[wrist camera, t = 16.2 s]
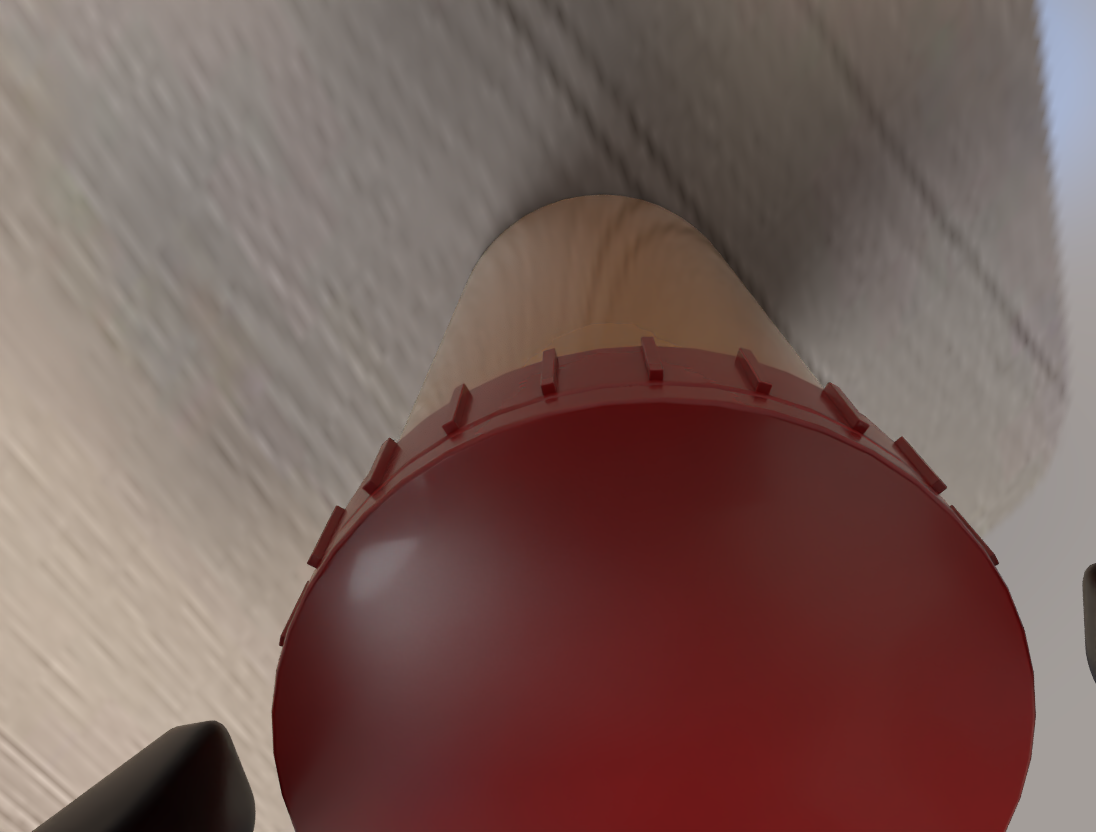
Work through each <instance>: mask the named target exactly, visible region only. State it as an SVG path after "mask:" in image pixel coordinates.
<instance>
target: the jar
mask: <svg viewBox="0 0 1096 832" xmlns="http://www.w3.org/2000/svg"><path fill="white" fill-rule="evenodd" d="M641 337H653V338H654V341H655V344H656V346H663V347H680V348H696V349H701V350H706V351H712V352H717V353H722V354H728V355H733V356H737V353H738V350H739V348H744V349H748V350H751V351H752V353H753V354H754V356H755V358H756V359H757V361H758V362H759V363H761V364H764V365H767V366H770V367H773V368H777V369H780V370H783V371H786V372H788V373H790V374H792V375H794V376H797V377H799V378H801V379H803V380H805V381H807V382H809V383H811V384H813V385H815V386H817V387H819V388H821V389H823V390H824V388H823V387H822V386H821V384H820V383H819V382H818V380H817V379H816V378H815V376H814V375H813V374H812V373H811V371H810V370H809V369H808V367H807V366H806V365H805V363H804V362H803V361H802V360H801V358H800V357H799V356H798V354H797V353H796V352H795V350H794V349H793V348H792V347H791V345H790V344H789V343H788V341H787V340H786V339H785V337H784V336H783V335H782V334H781V332H780V331H779V330H778V328H777V327H776V326H775V324H774V323H773V322H772V321H771V319H770V318H769V317H768V315H767V314H766V313H765V311H764V310H763V309H762V308H761V306H760V305H759V304H758V302H757V301H756V300H755V298H754V297H753V296H752V295H751V293H750V292H749V291H748V289H747V288H746V287H745V285H744V284H743V283H742V282H741V280H740V279H739V278H738V276H737V275H736V274H735V272H734V271H733V270H732V269H731V267H730V266H729V265H728V263H727V262H726V261H725V259H724V258H723V257H722V256H721V254H720V253H719V252H718V251H717V249H716V248H715V247H714V246H713V245H712V243H711V242H710V241H709V240H708V239H707V238H706V237H705V236H704V235H703V234H702V233H701V232H700V231H699V230H697V229H696V228H695V227H694V226H693V225H692V224H690V223H689V222H687V221H686V220H684V219H683V218H681V217H680V216H678V215H677V214H675V213H673V212H671V211H669V210H667V209H665V208H663V207H661V206H659V205H656V204H653V203H650V202H647V201H644V200H641V199H636V198H631V197H626V196H620V195H603V194H600V195H587V196H579V197H574V198H569V199H564V200H560V201H558V202H555V203H552V204H549V205H546V206H543V207H541V208H539V209H537V210H535V211H533V212H532V213H530V214H528V215H526V216H524V217H523V218H521V219H520V220H518V221H517V222H515V223H514V224H513V225H511V226H510V227H509V228H507V229H506V230H505V231H504V232H503V233H502V234H501V235H500V236H499V237H497V238H496V239H495V240H494V242H493V243H492V244H491V245H490V246H489V247H488V249H487V250H486V251H485V252H484V253H483V255H482V256H481V258H480V259H479V261H478V262H477V264H476V266H475V267H474V269H473V270H472V272H471V275H470V277H469V279H468V281H467V283H466V285H465V288H464V290H463V292H462V295H461V297H460V299H459V302H458V304H457V306H456V309H455V311H454V313H453V316H452V318H451V320H450V323H449V325H448V327H447V330H446V332H445V334H444V337H443V339H442V341H441V344H440V346H439V348H438V351H437V353H436V355H435V358H434V360H433V362H432V365H431V367H430V369H429V372H428V374H427V376H426V379H425V381H424V383H423V386H422V388H421V390H420V393H419V395H418V397H417V400H416V402H415V404H414V407H413V409H412V411H411V414H410V416H409V418H408V421H407V423H406V425H405V428H404V430H403V432H402V434H401V437H400V439H399V441H400V440H401V439H402V438H403V437H404V436H406V435H407V434H408V433H409V432H410V431H411V430H413V429H414V428H415V427H416V426H417V425H418V424H419V423H421V422H422V421H423V420H424V419H425V418H427V417H428V416H430V415H431V414H433V413H434V412H436V411H437V410H439V409H440V408H442V407H443V406H445V405H446V404H448V403H450V400H451V397H452V394H453V391H454V389H455V388H456V387H458V386H460V385H461V384H463V383H464V384H465V385H466V386H467V388H468V389H469V390H471V389H473V388H476V387H478V386H480V385H482V384H484V383H486V382H488V381H490V380H492V379H494V378H496V377H498V376H501V375H503V374H505V373H507V372H510V371H513V370H516V369H519V368H522V367H525V366H528V365H531V364H534V363H537V362H541V361H542V358H543V351H545V350H549V349H553V348H555V350H556V354H557V357H559V356H564V355H569V354H574V353H579V352H584V351H590V350H595V349H602V348H617V347H632V346H641ZM399 441H398V442H399Z"/></svg>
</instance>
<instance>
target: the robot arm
mask: <svg viewBox="0 0 1096 832" xmlns="http://www.w3.org/2000/svg"><path fill="white" fill-rule="evenodd" d="M1083 606H1084V626H1085V646H1086V656H1087V661H1088V665H1089V668H1090V671H1091V673H1092V676H1093V679H1094V681H1095V683H1096V563H1095V564H1092V565H1090V566H1089V567H1088V568H1087V569H1086V571H1085V573H1084V577H1083ZM254 825H255V802H254V797H253V793H252V790H251V787H250V785H249V782H248V780H247V777H246V775H245V772H244V770H243V767H242V765H241V762H240V760H239V757H238V755H237V752H236V749H235V747H234V744H233V742H232V739H231V737H230V735H229V733H228V731H227V729H226V728H225V727H224V726H223V724H221V723H219V722H217V721H205V722H200V723H194V724H188V725H183V726H177V727H175V728H172V729H170V730H169V731H167V732H166V733H165V734H163V735H162V736H161V737H159V738H158V739H157V740H155V741H154V742H152V743H151V744H150V745H148V746H147V747H146V748H144V749H143V750H142V751H140V752H139V753H138V754H136V755H135V756H134V757H132V758H131V759H129V760H128V761H127V762H125V763H124V764H123V765H121V766H120V767H119V768H117V769H116V770H115V771H113V772H112V773H111V774H109V775H108V776H106V777H105V778H104V779H102V780H101V781H100V782H98V783H97V784H96V785H94V786H93V787H92V788H90V789H89V790H88V791H86V792H85V793H83V794H82V795H81V796H79V797H78V798H77V799H75V800H74V801H73V802H71V803H70V804H69V805H67V806H66V807H65V808H63V809H62V810H60V811H59V812H58V813H56V814H55V815H54V816H52V817H51V818H50V819H48V820H47V821H46V822H44V823H43V824H42V825H40V826H39V827H37V828H36V829H35V830H33V831H32V832H253V830H254Z"/></svg>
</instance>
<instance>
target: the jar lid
mask: <svg viewBox="0 0 1096 832" xmlns="http://www.w3.org/2000/svg"><path fill="white" fill-rule="evenodd" d="M946 488H947V486H946V485H945V484H944V483H943V482H942V480H941V479H940V478H939V477H938V476H937V475H936V474H935V472H934V471H933V470H932V469H931V468H930V467H929V466H928V464H927V463H926V462H925V461H924V460H923V459H922V458H921V456H920V455H919V454H918V453H917V452H916V451H915V450H914V449H913V447H912V446H911V445H910V444H909V443H908V442H907V441H906V440H905V439H904V438H903V437H900V438H899V439H898V440H897V441H895V442H893V441H892V440H891V439H890V438H889V437H888V436H887V435H886V434H885V433H883V432H882V431H881V430H880V429H879V428H878V427H877V426H876V425H874V424H873V423H872V422H871V421H870V420H869V419H868V418H867V417H865V416H864V415H862V414H861V413H859V412H858V410H857V409H856V408H855V407H854V405H853V404H852V403H851V402H850V400H849V399H848V398H847V397H846V396H845V394H844V393H843V392H842V391H841V389H840V388H839V387H838V386H836V385H834V384H832V383H831V382H829V383H828V384H827V385H826V387H825V388H824V390H823V389H821V388H819V387H817V386H815V385H813V384H811V383H809V382H807V381H805V380H803V379H801V378H799V377H797V376H794V375H792V374H790V373H788V372H786V371H783V370H780V369H777V368H773V367H770V366H767V365H764V364H761V363H759V362H758V361H757V359H756V358H755V356H754V354H753V353H752V351H751V350H748V349H744V348H739V350H738V353H737V356H733V355H728V354H722V353H717V352H712V351H706V350H701V349H696V348H680V347H663V346H656V344H655V341H654V338H653V337H641V346H632V347H617V348H602V349H595V350H590V351H584V352H579V353H574V354H569V355H564V356H559V357H557V354H556V350H555V348H553V349H549V350H545V351H543V358H542V361H541V362H537V363H534V364H531V365H528V366H525V367H522V368H519V369H516V370H513V371H510V372H507V373H505V374H503V375H501V376H498V377H496V378H494V379H492V380H490V381H488V382H486V383H484V384H482V385H480V386H478V387H476V388H473V389H471V390H469V389H468V388H467V386H466V385H465V384H464V383H463V384H461V385H460V386H458V387H456V388H455V389H454V391H453V394H452V397H451V400H450V403H448V404H446V405H445V406H443V407H442V408H440V409H439V410H437V411H436V412H434V413H433V414H431V415H430V416H428V417H427V418H425V419H424V420H423V421H422V422H421V423H419V424H418V425H417V426H416V427H415V428H414V429H413V430H411V431H410V432H409V433H408V434H407V435H406V436H404V437H403V438H402V439H401V440H400V441H399V442H398V443H396V442H394V441H393V440H392V439H391V438H388V439H387V440H386V441H385V442H384V443H383V444H382V446H381V448H380V451H379V453H378V455H377V457H376V459H375V461H374V463H373V466H372V468H371V470H370V472H369V474H368V476H367V477H366V478H365V479H364V481H363V482H362V484H361V485H360V487H359V488H358V490H357V491H356V493H355V494H354V496H353V498H352V499H351V501H350V502H349V504H348V505H347V507H346V508H345V509H343V508H341V507H339V506H336V507H335V509H334V511H333V513H332V514H331V516H330V518H329V520H328V522H327V524H326V526H325V528H324V530H323V532H322V534H321V536H320V538H319V540H318V542H317V544H316V546H315V548H314V550H313V552H312V554H311V556H310V558H309V560H308V562H307V564H308V565H310V566H313V567H315V568H316V569H315V571H314V573H313V575H312V577H311V579H310V581H307V583H306V585H305V587H304V589H303V591H302V593H301V595H300V597H299V599H298V601H297V603H296V605H295V608H294V610H293V612H292V614H291V616H290V618H289V620H288V622H287V624H286V626H285V628H284V630H283V632H282V634H281V637H280V642H279V646H282V647H283V648H282V651H281V655H280V658H279V662H278V666H277V669H276V677H275V686H274V695H273V703H272V733H273V753H274V758H275V763H276V768H277V773H278V778H279V783H280V788H281V793H282V796H283V799H284V802H285V805H286V807H287V810H288V813H289V815H290V818H291V821H292V824H293V826H294V829H295V832H1006V830H1007V827H1008V825H1009V823H1010V821H1011V818H1012V816H1013V814H1014V812H1015V809H1016V807H1017V805H1018V802H1019V800H1020V798H1021V794H1022V790H1023V786H1024V783H1025V779H1026V775H1027V772H1028V768H1029V764H1030V761H1031V755H1032V746H1033V737H1034V728H1035V718H1036V710H1035V692H1034V691H1035V690H1034V671H1033V667H1032V663H1031V658H1030V653H1029V648H1028V644H1027V640H1026V634H1025V630H1024V627H1023V625H1022V622H1021V619H1020V617H1019V615H1018V612H1017V609H1016V607H1015V604H1014V602H1013V599H1012V597H1011V594H1010V592H1009V589H1008V587H1007V585H1006V584H1005V582H1004V581H1003V579H1002V577H1001V576H1000V574H999V572H998V570H997V569H996V567H995V566H996V565H998V564H999V562H998V560H997V558H996V556H995V554H994V553H993V552H992V551H991V550H990V548H989V547H988V546H987V545H986V544H985V542H984V541H983V540H982V539H981V538H980V537H979V535H978V534H977V533H976V532H975V531H974V530H973V528H972V527H971V526H970V525H969V524H968V523H967V521H966V520H965V519H964V518H963V517H962V516H961V514H960V513H959V512H958V511H957V510H956V509H955V507H954V506H953V505H951V506H949V505H948V504H947V503H946V502H945V500H944V499H943V498H942V497H941V496H940V495H939V494H940V493H941V492H943V491H944V490H945V489H946Z"/></svg>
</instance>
